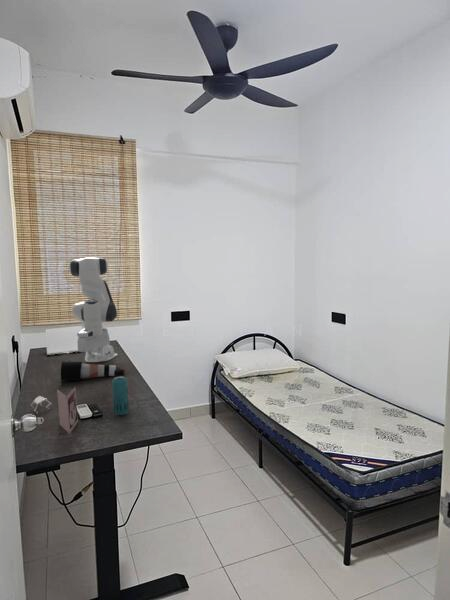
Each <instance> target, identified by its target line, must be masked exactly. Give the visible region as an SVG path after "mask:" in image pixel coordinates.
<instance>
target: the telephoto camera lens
mask: <svg viewBox="0 0 450 600" xmlns="http://www.w3.org/2000/svg"><path fill="white" fill-rule="evenodd" d="M117 369H118V367H117V366H116V364H112V365H111V364H99V363H98V364H92V363H91V364H89V363H83V362H82V361H62V362H61V366H60V381H82V380H81V379H82V378H84V379H85V378H98V377H103V378H104V377H115V376H114V371H115V370H117ZM122 369H123V370H124V373H126V368H122Z"/></svg>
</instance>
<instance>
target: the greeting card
mask: <svg viewBox="0 0 450 600" xmlns="http://www.w3.org/2000/svg"><path fill="white" fill-rule="evenodd" d="M56 391H57V392H56V393H57V403H58V404H57V405H58V415H59V416H58V417H59V425H60V426H61V428H63V429H64V430H65V431H66V432H67V433H68V434H71V433H72V431H73V430H74V428H75V427H76V425H77V424H78V422H79V419H78V415H79V414H78V404H77V391H76V386H74V387H73V388H72V390H71V391H70V392H69V393H68V394H67V395H66V394H65V393H63V392H61V391H60V390H59V389H56Z"/></svg>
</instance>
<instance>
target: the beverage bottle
mask: <svg viewBox="0 0 450 600" xmlns="http://www.w3.org/2000/svg"><path fill="white" fill-rule="evenodd" d="M123 369H124V368H117V370H115V371H114V376H113V377H114V378H113V379H112V381H111V383H112V385H111V386H112V402H113V404H112V405H113V413H114V415H117V416H120V415H121V416H122V415H123V416H124V415H125V414H128V413H129V410H130V404H129V391H128V390H129V388H128V379H127V378H126V377H125V376H124V375H125V372H124V370H123Z"/></svg>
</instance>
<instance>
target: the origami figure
mask: <svg viewBox="0 0 450 600" xmlns="http://www.w3.org/2000/svg"><path fill="white" fill-rule="evenodd" d="M42 402H47V403H48V404H47V405H46V406H45V408H46V409H49V410H50V409H51V408H49V406H51V405H52V404H53V403H52V402H50V401H49V400H48V398H47V397H44V396H41V395H38V396H37V397H36V398H35V399H34V400H33V401H32V403H30V406H31V407H32V409H34V410H33V412H36V415H38V413H39V411H38V410H37V408H38V405H40V406H43V405H42ZM34 404H36V406H35V407H34V406H33V405H34Z"/></svg>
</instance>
